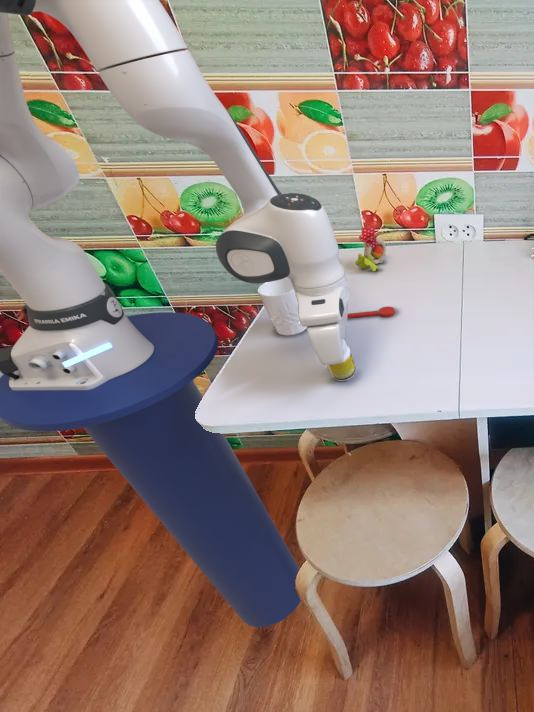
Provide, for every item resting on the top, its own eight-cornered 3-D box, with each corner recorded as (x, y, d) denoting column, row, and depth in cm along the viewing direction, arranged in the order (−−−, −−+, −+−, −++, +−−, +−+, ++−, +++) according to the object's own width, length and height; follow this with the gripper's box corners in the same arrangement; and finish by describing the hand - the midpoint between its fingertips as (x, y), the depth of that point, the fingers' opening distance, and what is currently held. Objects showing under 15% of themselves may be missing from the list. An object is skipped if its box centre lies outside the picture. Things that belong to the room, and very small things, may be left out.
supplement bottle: (361, 371, 89) (353, 345, 82) (341, 386, 87) (331, 360, 80) (345, 357, 91) (336, 330, 84) (325, 371, 89) (314, 344, 82)
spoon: (323, 323, 104) (322, 320, 103) (325, 315, 107) (324, 312, 106) (395, 316, 106) (394, 313, 106) (394, 308, 109) (394, 305, 108)
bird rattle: (372, 268, 130) (349, 267, 122) (375, 227, 127) (352, 224, 119) (390, 272, 128) (368, 272, 120) (394, 231, 125) (371, 228, 117)
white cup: (278, 341, 98) (261, 299, 92) (270, 325, 104) (254, 284, 97) (315, 330, 102) (302, 289, 95) (306, 314, 107) (292, 274, 101)
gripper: (310, 268, 89) (330, 329, 97) (297, 323, 73) (321, 390, 82) (344, 264, 90) (361, 325, 98) (338, 318, 74) (358, 385, 83)
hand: (343, 355), depth 90 cm, fingers closed
